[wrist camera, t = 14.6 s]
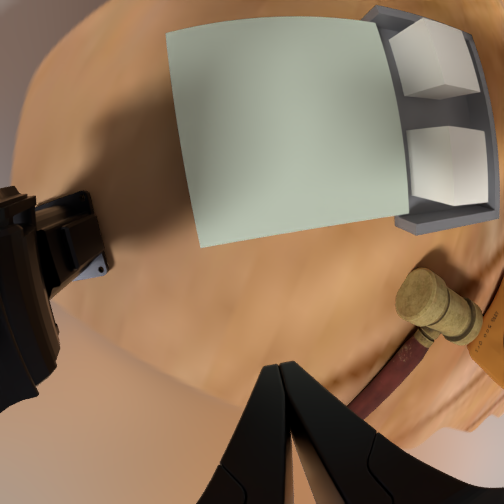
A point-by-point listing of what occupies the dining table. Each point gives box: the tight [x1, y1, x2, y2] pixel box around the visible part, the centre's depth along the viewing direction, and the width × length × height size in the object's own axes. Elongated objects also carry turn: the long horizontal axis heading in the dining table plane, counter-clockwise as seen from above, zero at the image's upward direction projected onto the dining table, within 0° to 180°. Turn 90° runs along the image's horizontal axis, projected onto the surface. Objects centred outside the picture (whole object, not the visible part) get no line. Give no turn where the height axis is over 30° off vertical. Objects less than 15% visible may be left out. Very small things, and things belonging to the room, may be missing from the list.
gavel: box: [347, 267, 483, 420], centre depth 23 cm, size 21×5×10 cm
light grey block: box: [389, 18, 480, 100], centre depth 13 cm, size 5×5×4 cm
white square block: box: [406, 126, 488, 206], centre depth 15 cm, size 5×5×4 cm
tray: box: [360, 5, 500, 236], centre depth 16 cm, size 11×17×3 cm, turn 9°
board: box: [166, 16, 409, 248], centre depth 16 cm, size 14×14×2 cm
